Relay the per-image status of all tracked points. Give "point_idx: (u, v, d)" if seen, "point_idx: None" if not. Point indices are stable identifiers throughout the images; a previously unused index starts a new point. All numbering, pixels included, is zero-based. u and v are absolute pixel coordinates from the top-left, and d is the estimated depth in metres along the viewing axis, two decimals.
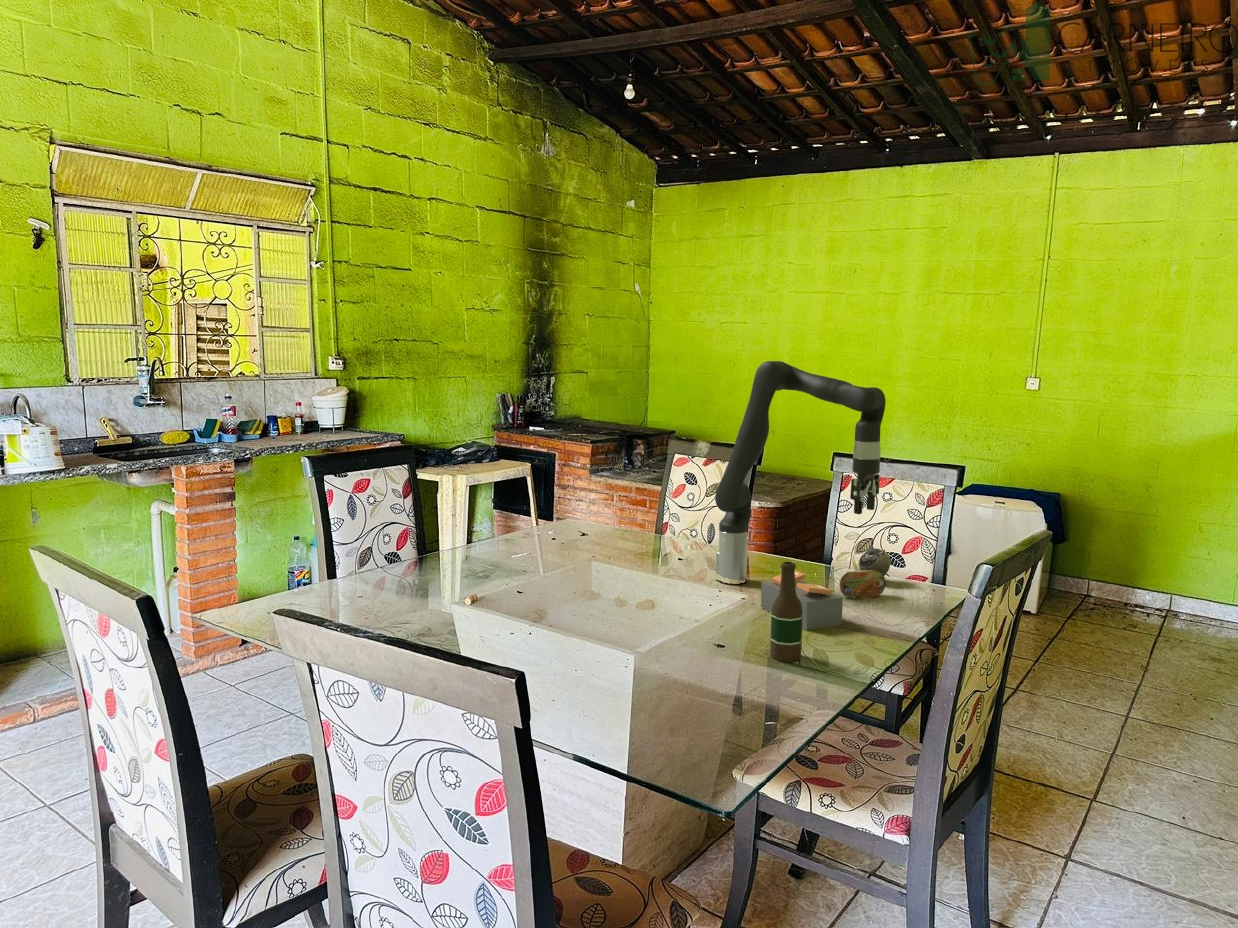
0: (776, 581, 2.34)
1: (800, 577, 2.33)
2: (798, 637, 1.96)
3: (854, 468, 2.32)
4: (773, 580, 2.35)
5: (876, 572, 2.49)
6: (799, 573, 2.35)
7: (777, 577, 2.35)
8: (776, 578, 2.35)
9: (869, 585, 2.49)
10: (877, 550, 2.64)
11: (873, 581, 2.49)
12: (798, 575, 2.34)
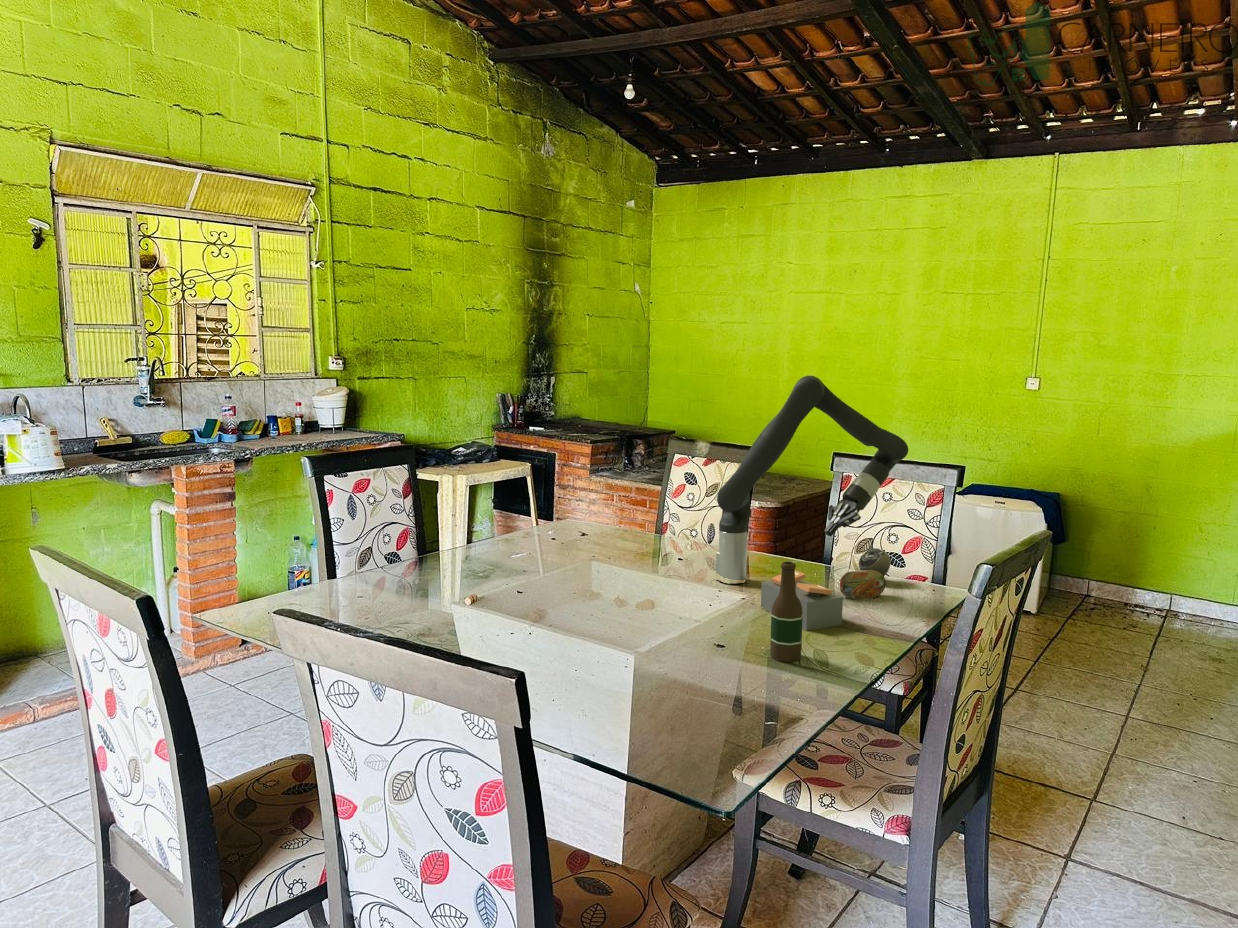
0: (776, 581, 2.34)
1: (800, 577, 2.33)
2: (798, 637, 1.96)
3: (857, 496, 2.38)
4: (773, 580, 2.35)
5: (876, 572, 2.49)
6: (799, 573, 2.35)
7: (777, 577, 2.35)
8: (776, 578, 2.35)
9: (869, 585, 2.49)
10: (877, 550, 2.64)
11: (873, 581, 2.49)
12: (798, 575, 2.34)
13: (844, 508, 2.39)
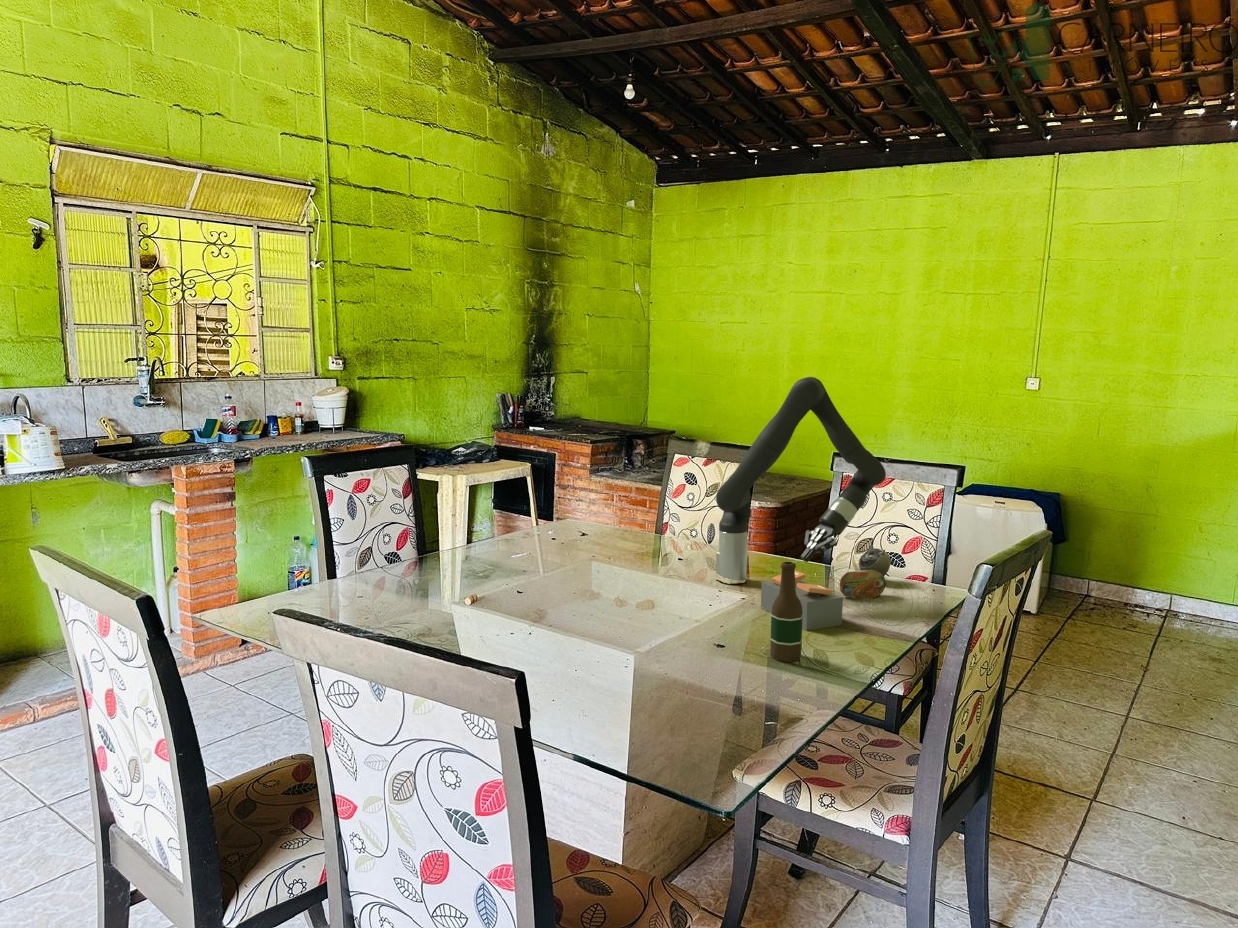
0: (776, 581, 2.34)
1: (800, 577, 2.33)
2: (798, 637, 1.96)
3: (834, 521, 2.36)
4: (773, 580, 2.35)
5: (876, 572, 2.49)
6: (799, 573, 2.35)
7: (777, 577, 2.35)
8: (776, 578, 2.35)
9: (869, 585, 2.49)
10: (877, 550, 2.64)
11: (873, 581, 2.49)
12: (798, 575, 2.34)
13: (821, 533, 2.37)
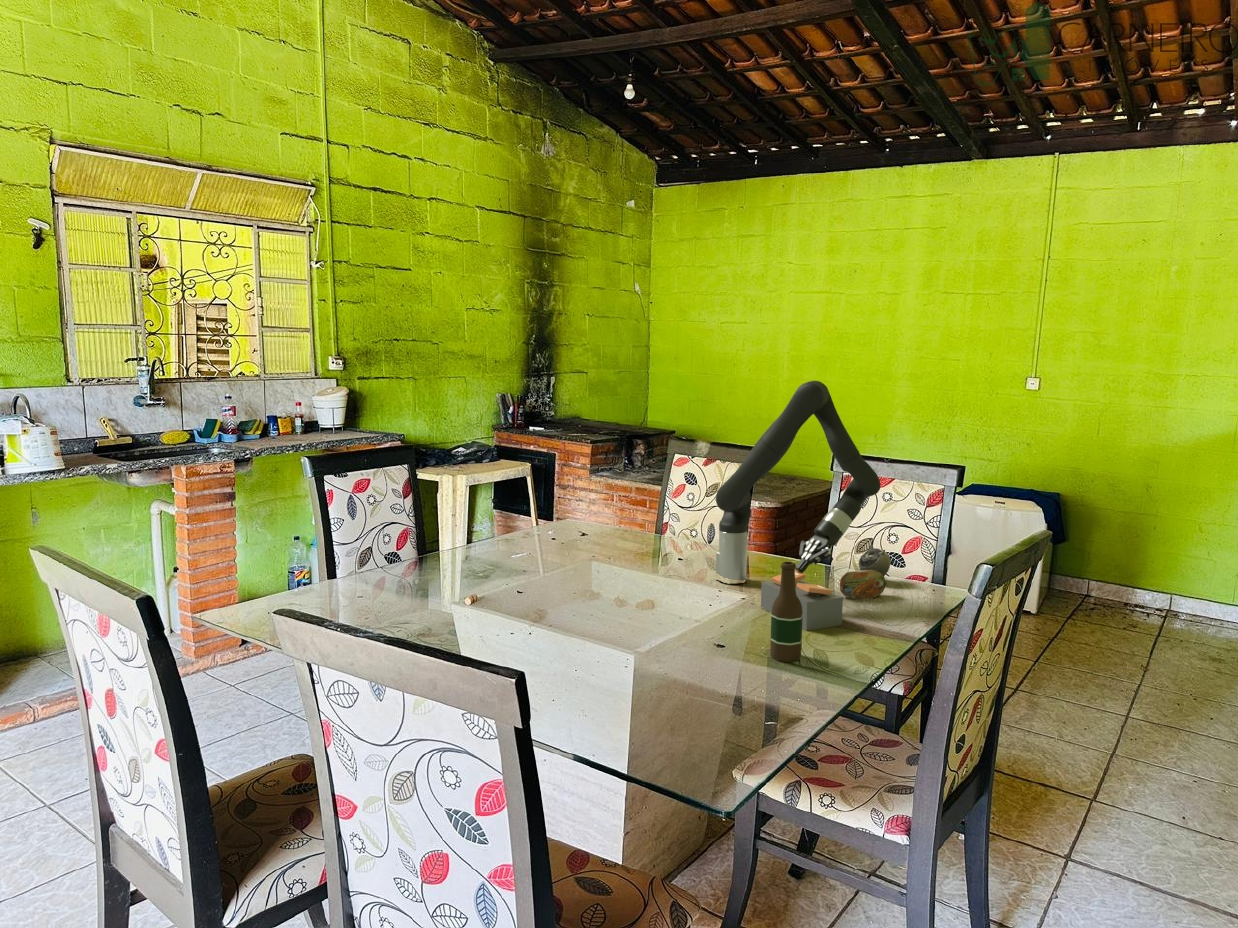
0: (776, 581, 2.34)
1: (800, 577, 2.33)
2: (798, 637, 1.96)
3: (828, 532, 2.35)
4: (773, 580, 2.35)
5: (876, 572, 2.49)
6: (799, 573, 2.35)
7: (777, 577, 2.35)
8: (776, 578, 2.35)
9: (869, 585, 2.49)
10: (877, 550, 2.64)
11: (873, 581, 2.49)
12: (798, 575, 2.34)
13: (815, 544, 2.36)
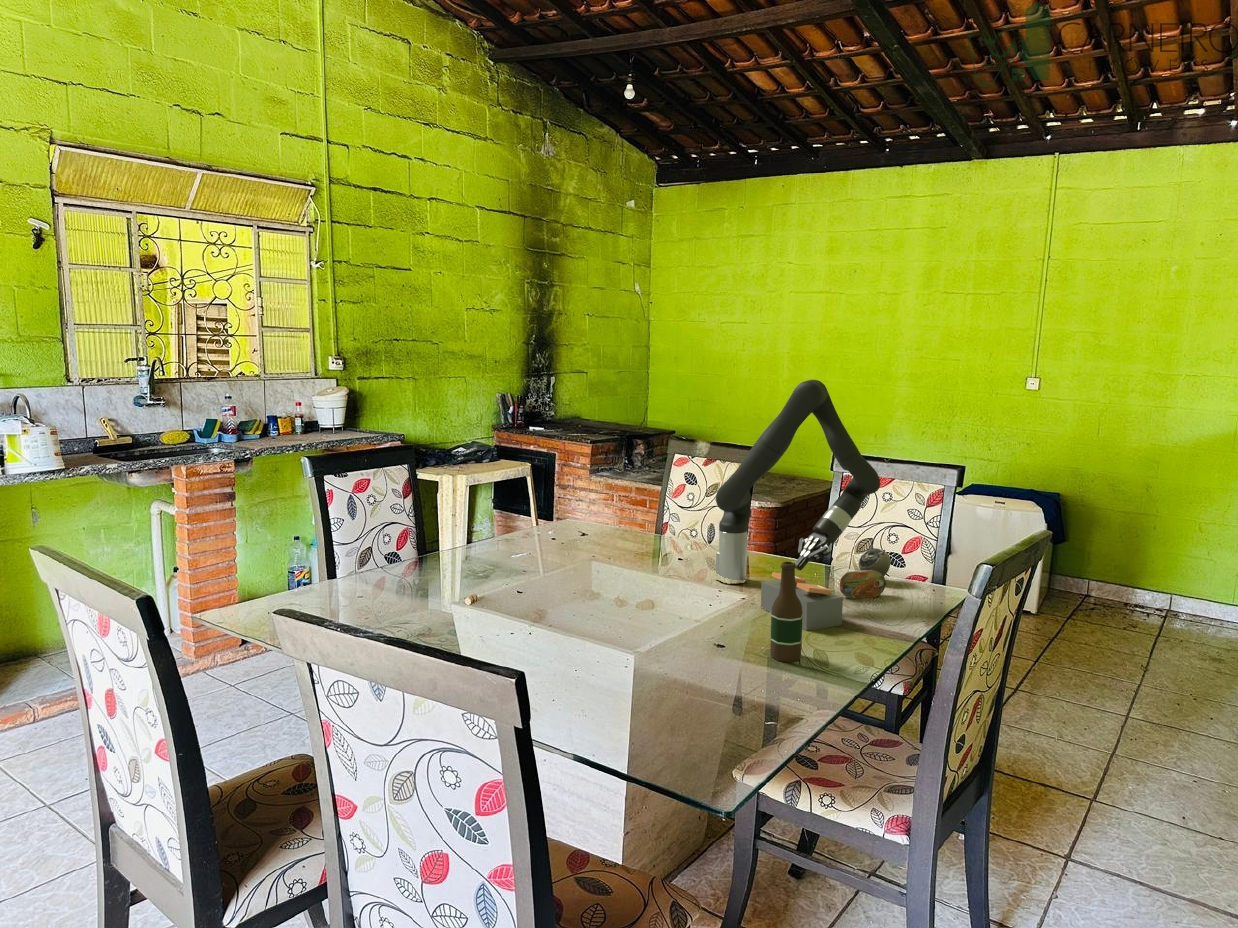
0: (777, 575, 2.34)
1: (800, 580, 2.33)
2: (798, 637, 1.96)
3: (828, 530, 2.35)
4: (774, 574, 2.35)
5: (876, 572, 2.49)
6: (800, 578, 2.35)
7: (778, 573, 2.35)
8: (777, 573, 2.35)
9: (869, 585, 2.49)
10: (877, 550, 2.64)
11: (873, 581, 2.49)
12: (799, 578, 2.34)
13: (814, 542, 2.36)
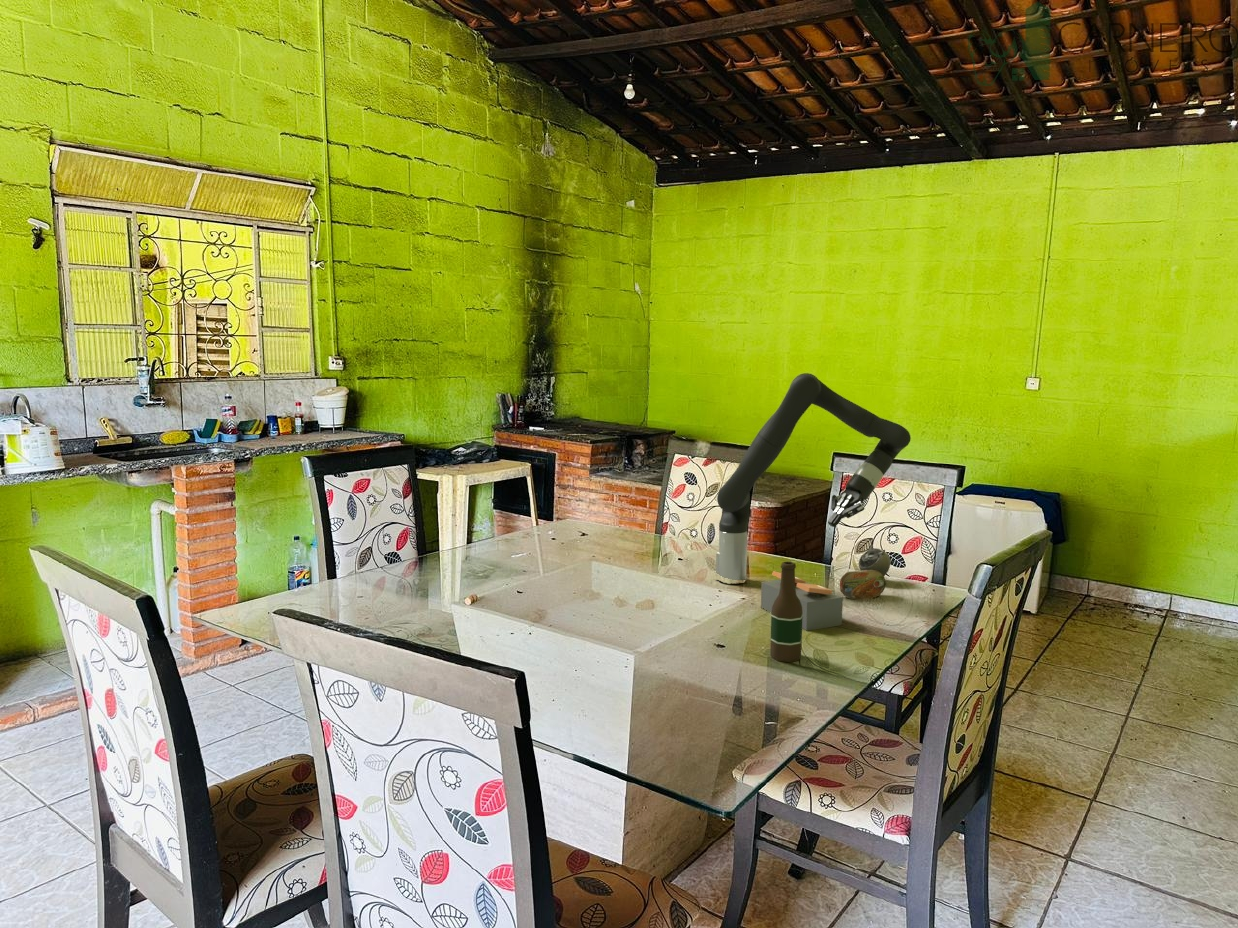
0: (777, 574, 2.34)
1: (800, 581, 2.33)
2: (798, 637, 1.96)
3: (861, 486, 2.39)
4: (774, 573, 2.35)
5: (876, 572, 2.49)
6: (800, 579, 2.35)
7: (778, 572, 2.35)
8: (777, 572, 2.35)
9: (869, 585, 2.49)
10: (877, 550, 2.64)
11: (873, 581, 2.49)
12: (799, 579, 2.34)
13: (847, 499, 2.40)
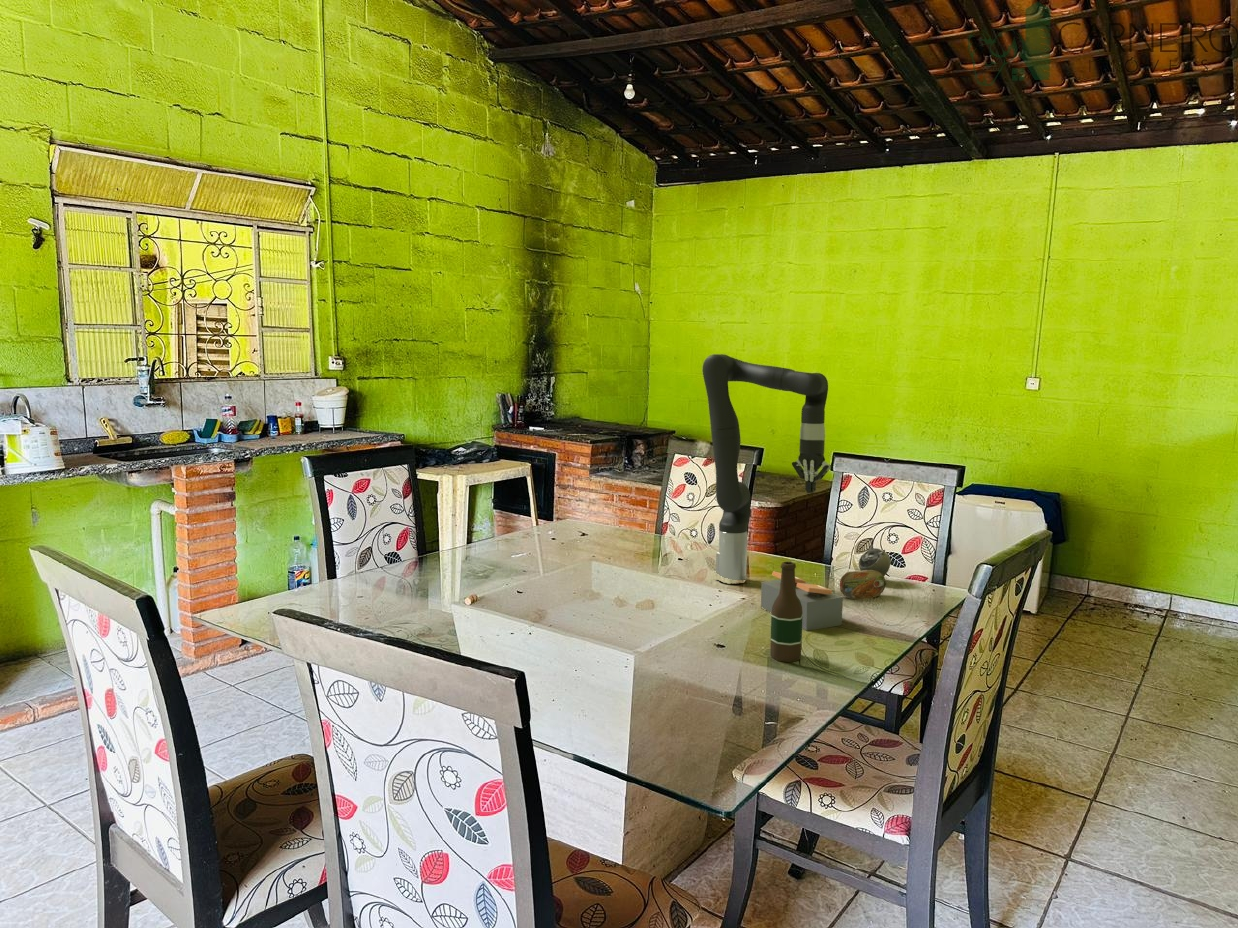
0: (777, 574, 2.34)
1: (800, 581, 2.33)
2: (798, 637, 1.96)
3: (817, 449, 2.45)
4: (774, 573, 2.35)
5: (876, 572, 2.49)
6: (800, 579, 2.35)
7: (778, 572, 2.35)
8: (777, 572, 2.35)
9: (869, 585, 2.49)
10: (877, 550, 2.64)
11: (873, 581, 2.49)
12: (799, 579, 2.34)
13: (812, 465, 2.47)
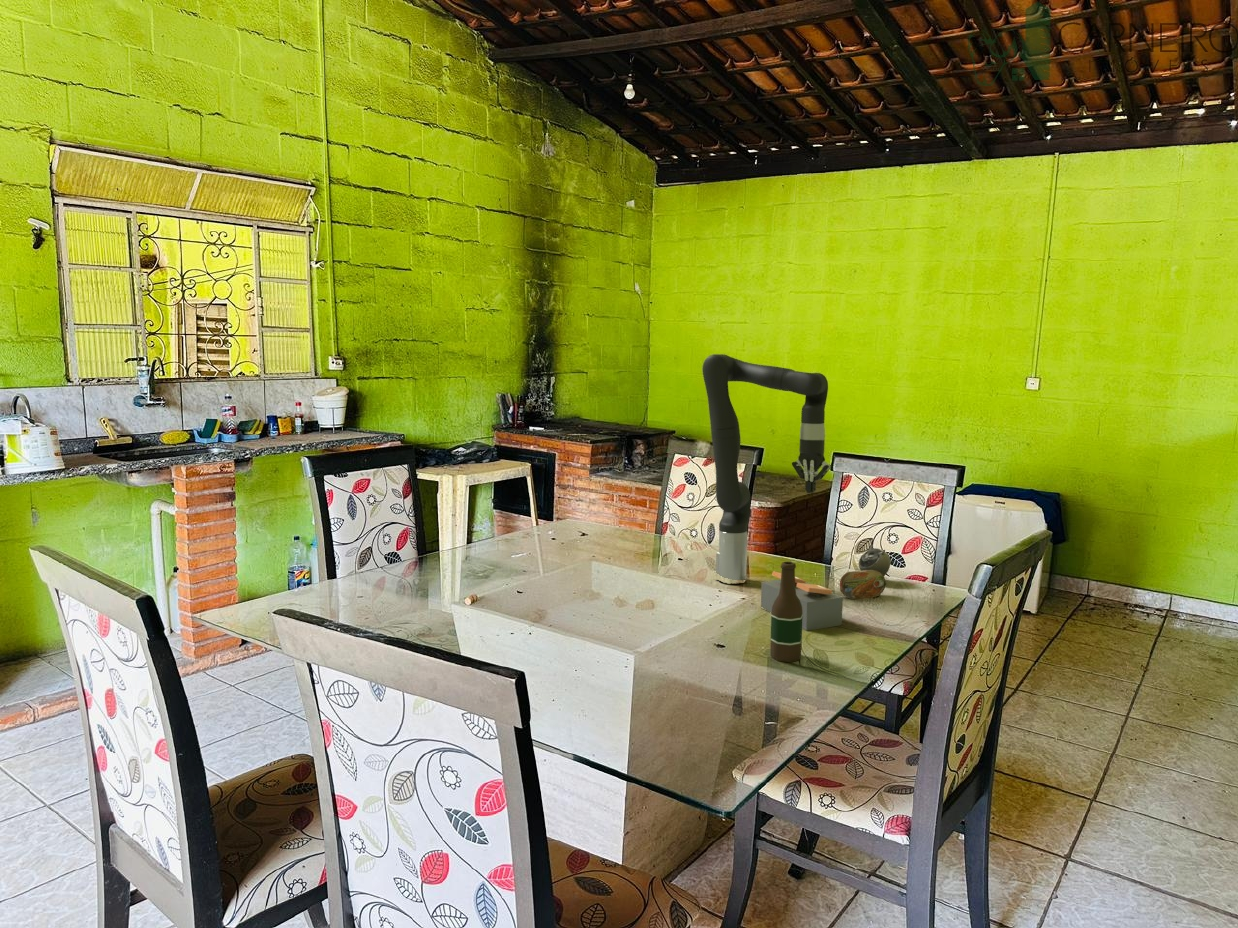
0: (777, 574, 2.34)
1: (800, 581, 2.33)
2: (798, 637, 1.96)
3: (817, 449, 2.45)
4: (774, 573, 2.35)
5: (876, 572, 2.49)
6: (800, 579, 2.35)
7: (778, 572, 2.35)
8: (777, 572, 2.35)
9: (869, 585, 2.49)
10: (877, 550, 2.64)
11: (873, 581, 2.49)
12: (799, 579, 2.34)
13: (812, 465, 2.47)
